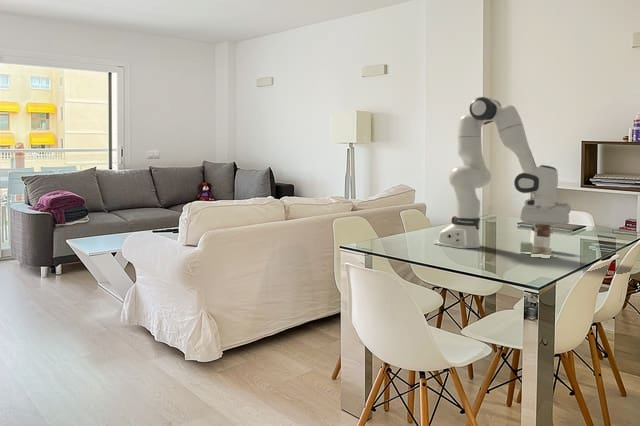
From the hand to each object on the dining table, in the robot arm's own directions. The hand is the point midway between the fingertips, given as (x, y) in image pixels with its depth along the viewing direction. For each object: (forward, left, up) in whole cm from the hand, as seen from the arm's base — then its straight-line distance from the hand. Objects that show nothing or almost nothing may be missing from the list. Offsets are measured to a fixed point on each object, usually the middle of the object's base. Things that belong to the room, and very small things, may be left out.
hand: (543, 232), depth 248 cm
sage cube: (-7, +4, -11) cm, 14 cm away
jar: (-2, +16, -11) cm, 20 cm away
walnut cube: (0, 0, -2) cm, 2 cm away
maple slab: (0, 0, -11) cm, 11 cm away
